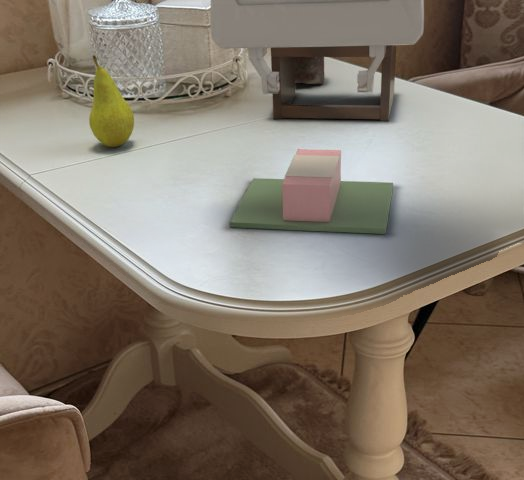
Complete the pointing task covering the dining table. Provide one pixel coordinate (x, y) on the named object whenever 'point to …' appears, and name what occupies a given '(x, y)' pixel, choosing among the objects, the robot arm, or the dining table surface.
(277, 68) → the shelf stand
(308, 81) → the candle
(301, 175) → the block
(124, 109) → the fruit
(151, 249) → the dining table surface
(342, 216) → the placemat
